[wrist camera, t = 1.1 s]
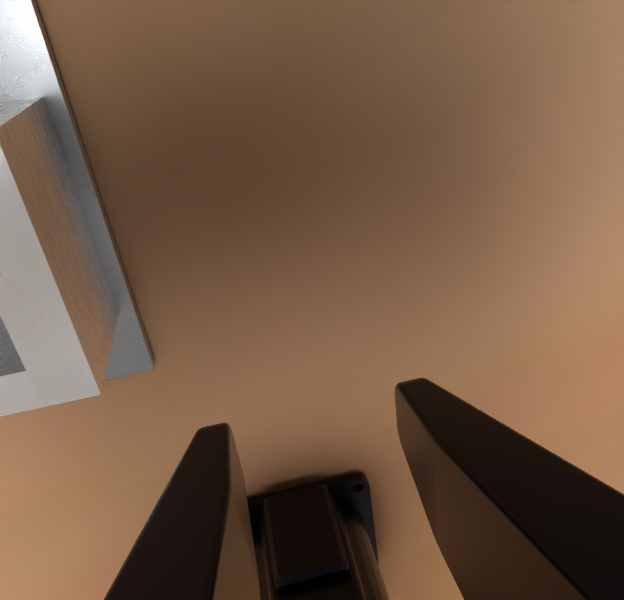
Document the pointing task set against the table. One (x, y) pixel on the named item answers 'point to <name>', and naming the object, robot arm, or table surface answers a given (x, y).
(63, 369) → the block
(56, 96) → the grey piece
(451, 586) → the table surface
